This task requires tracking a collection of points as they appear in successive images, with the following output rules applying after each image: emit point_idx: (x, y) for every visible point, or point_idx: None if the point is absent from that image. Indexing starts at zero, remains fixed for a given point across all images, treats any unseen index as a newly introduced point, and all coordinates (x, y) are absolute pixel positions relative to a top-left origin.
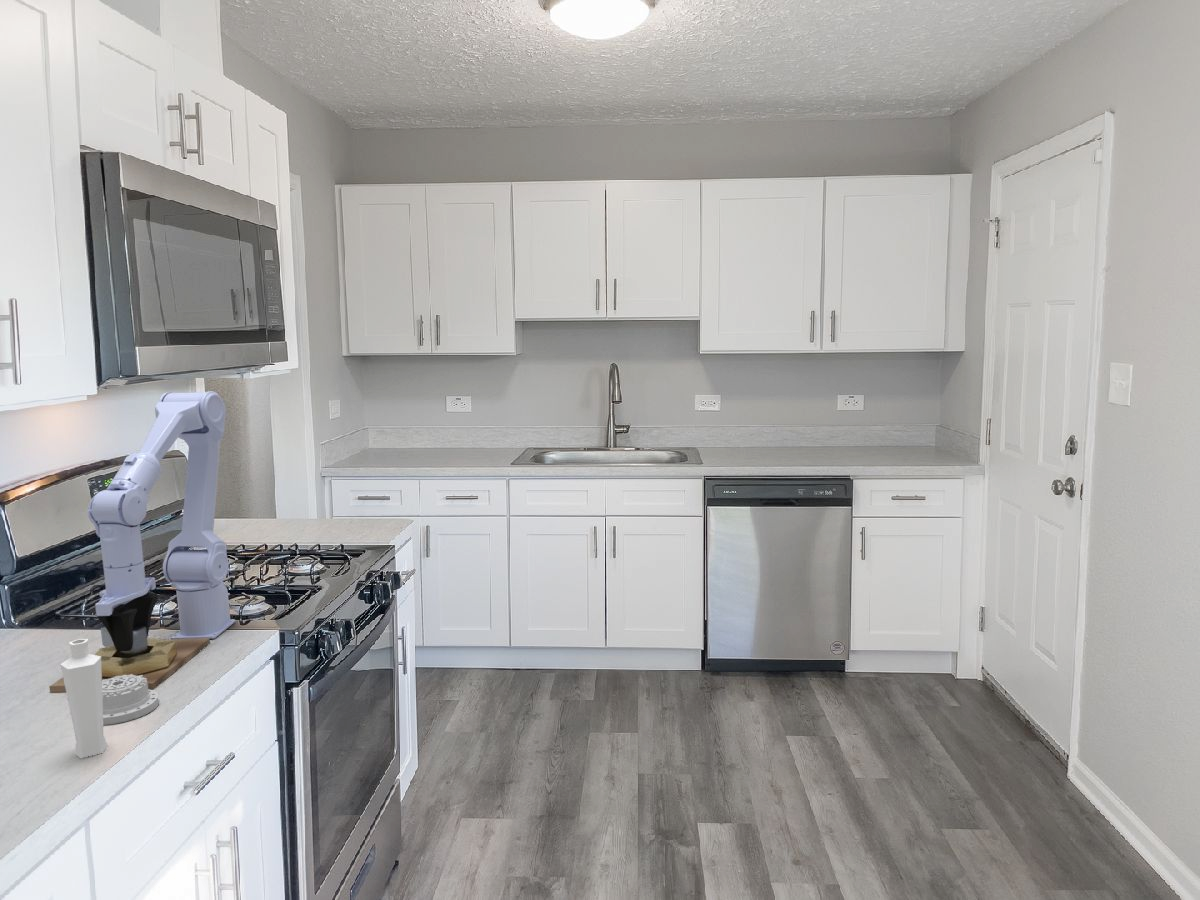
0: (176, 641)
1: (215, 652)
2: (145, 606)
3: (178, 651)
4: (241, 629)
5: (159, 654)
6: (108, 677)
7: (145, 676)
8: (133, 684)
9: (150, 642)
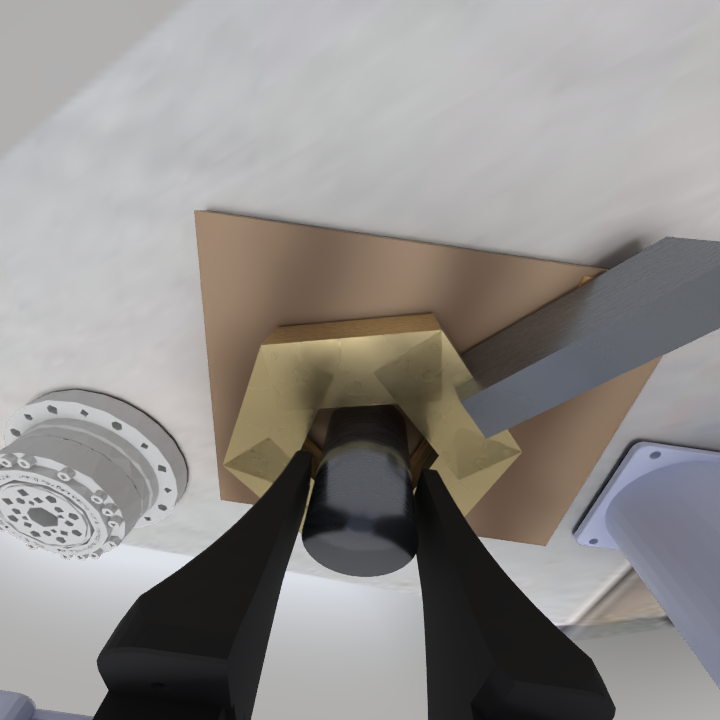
0: (561, 480)
1: None
2: (433, 691)
3: None
4: (628, 570)
5: None
6: None
7: None
8: (49, 546)
9: (450, 484)
